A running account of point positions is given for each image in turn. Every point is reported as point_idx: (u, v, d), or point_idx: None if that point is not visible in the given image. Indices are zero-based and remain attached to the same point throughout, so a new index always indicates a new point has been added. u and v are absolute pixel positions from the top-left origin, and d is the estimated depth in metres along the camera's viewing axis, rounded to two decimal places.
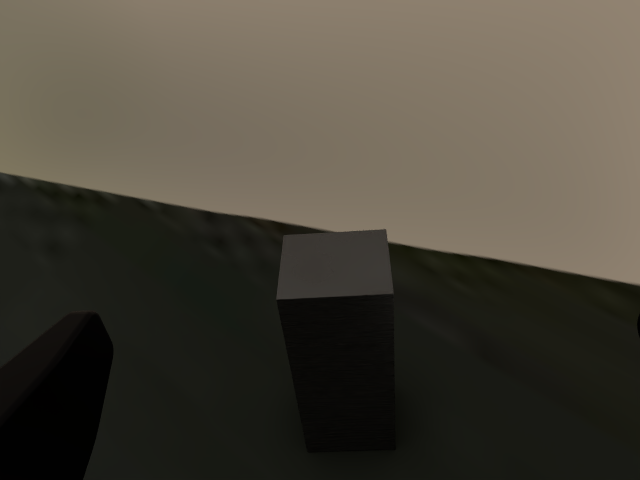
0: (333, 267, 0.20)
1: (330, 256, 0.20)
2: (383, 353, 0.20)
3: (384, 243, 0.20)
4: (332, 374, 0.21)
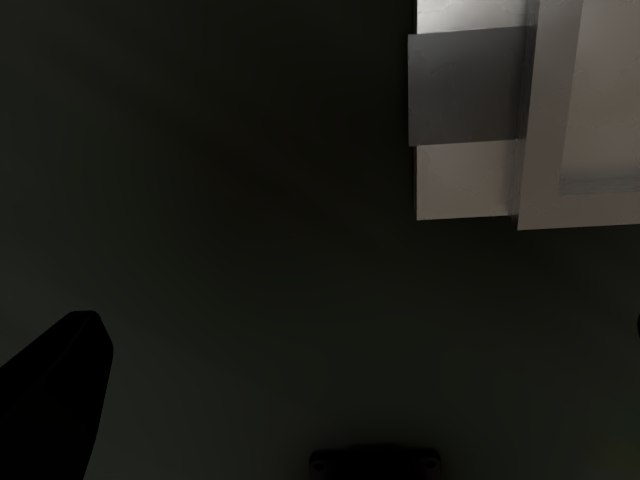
0: None
1: None
2: None
3: None
4: None
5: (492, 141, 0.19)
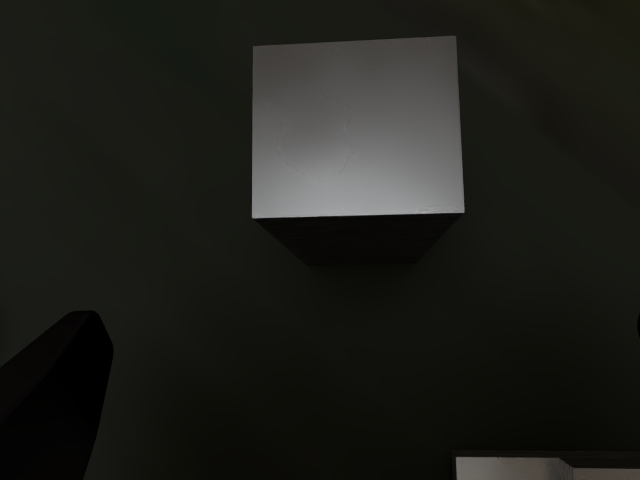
0: (352, 140, 0.10)
1: (346, 109, 0.11)
2: (424, 237, 0.13)
3: (452, 78, 0.10)
4: (343, 244, 0.15)
5: None
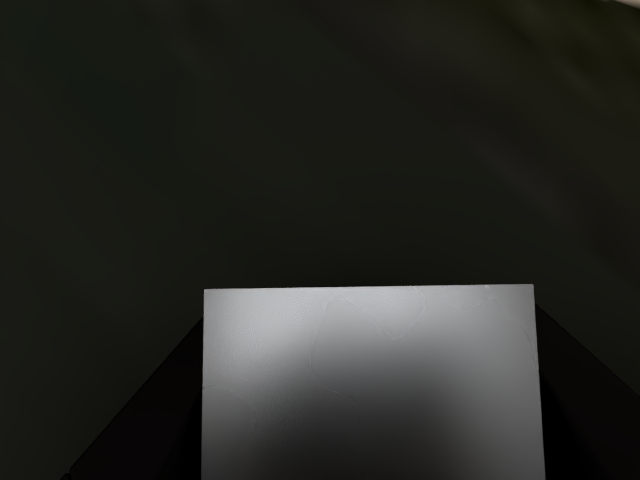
0: (363, 461, 0.06)
1: (354, 406, 0.06)
2: None
3: (528, 359, 0.06)
4: None
5: None
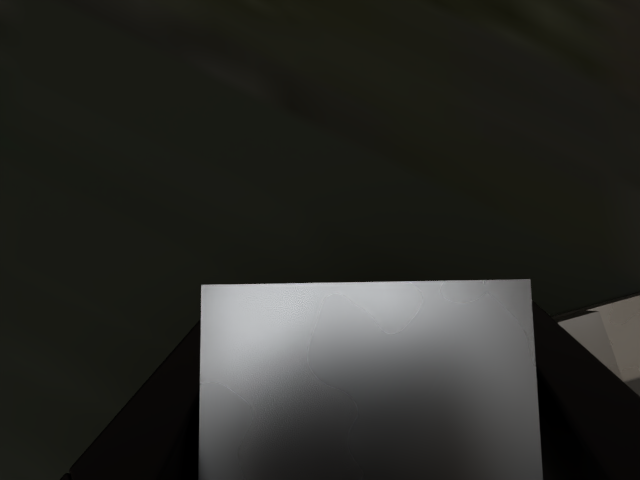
0: (360, 456, 0.06)
1: (351, 401, 0.06)
2: None
3: (525, 354, 0.06)
4: None
5: None
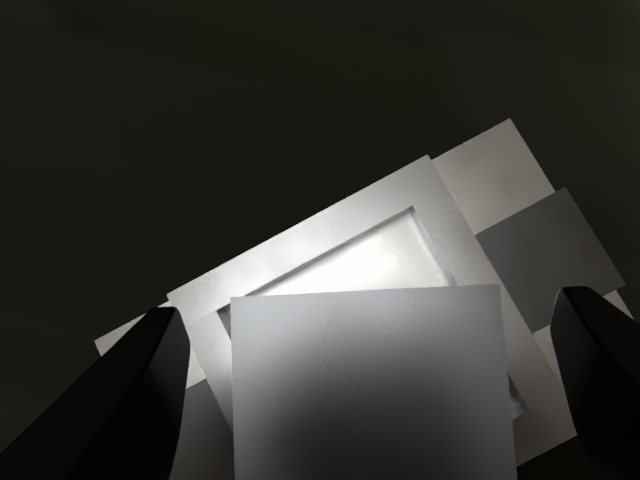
0: (366, 433, 0.08)
1: (357, 388, 0.08)
2: None
3: (497, 344, 0.08)
4: None
5: None
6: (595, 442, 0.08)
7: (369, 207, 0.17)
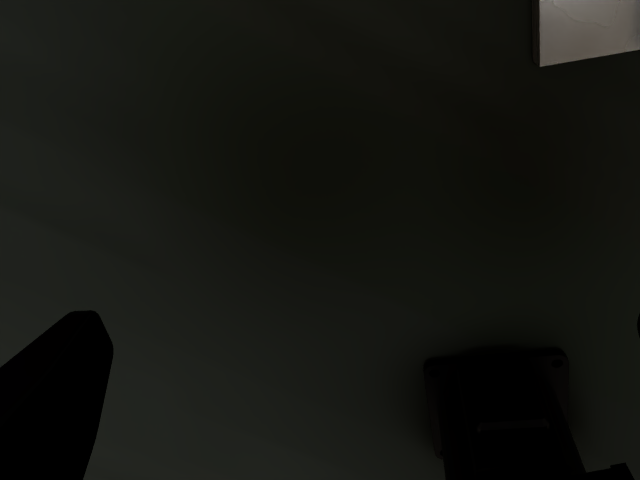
0: None
1: None
2: None
3: None
4: None
5: None
6: None
7: None
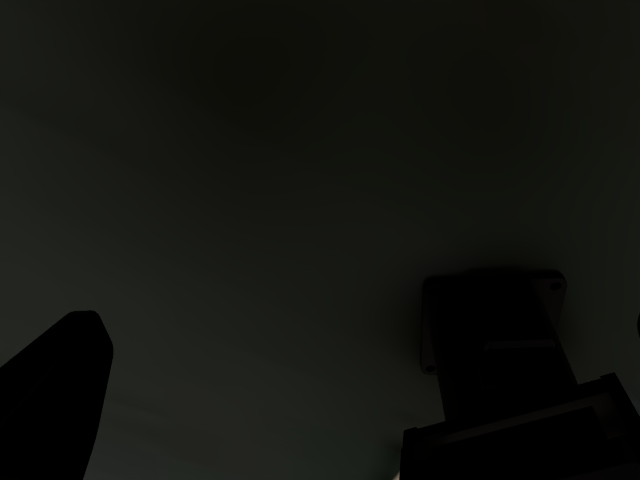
0: None
1: None
2: None
3: None
4: None
5: None
6: None
7: None
